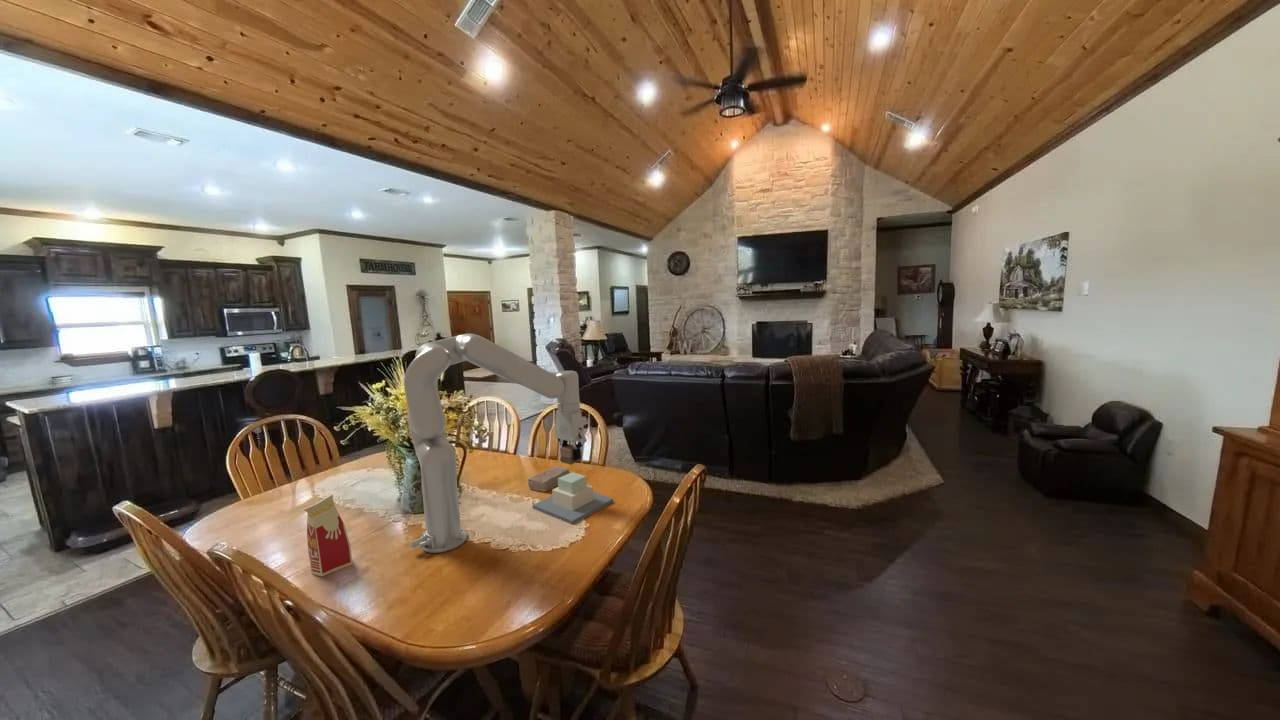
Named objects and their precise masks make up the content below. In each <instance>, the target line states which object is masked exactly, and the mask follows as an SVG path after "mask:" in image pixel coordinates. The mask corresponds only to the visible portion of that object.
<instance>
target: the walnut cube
mask: <svg viewBox="0 0 1280 720" xmlns="http://www.w3.org/2000/svg"><path fill="white" fill-rule="evenodd" d="M573 449H574V446H573V443H569V445H568V446H565V447H562V448H561V447H560V448H559V451H560V453H559V455H560V462H561V463H563V464H567V465H570V466H573V465H574V464H576V463H579V462H581V461H582V457H581V458H580V459H578V460H576V461H574V460H573Z"/></svg>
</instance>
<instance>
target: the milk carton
mask: <svg viewBox="0 0 1280 720" xmlns="http://www.w3.org/2000/svg"><path fill="white" fill-rule="evenodd" d="M334 501H335V500H334V494H333V493H332V494H330V495H328V496H325V498H323V499H321V500H320V501H319V502H316V503H314V504H312V505H310V506H308V507H306V508H303V509H302V511H305V512H306V513H307V517H306V518H307V522H306V523H307V525H306V536H307V550H308V551H307V552H308V558H309V563H310V564H309V565H310V571H311V574H312V575H315V576H318V577H324V576H327V575H328V574H331V573H334V572H335V571H338V570H341V569H343V568H346V567H349V566H351V565H353V557H352V556H353V555H352V548H351V546H352V545H351V543H350V538H349V536H348V532H347V528H346V525H345V523H344V521H343V519H342V517H341V515H340V512H339V511H338V509H337V507H336V504H335V502H334Z"/></svg>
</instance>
